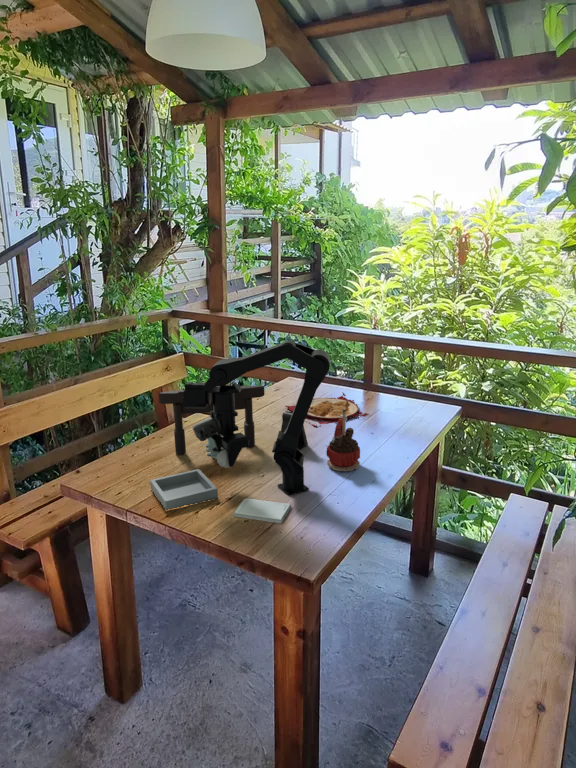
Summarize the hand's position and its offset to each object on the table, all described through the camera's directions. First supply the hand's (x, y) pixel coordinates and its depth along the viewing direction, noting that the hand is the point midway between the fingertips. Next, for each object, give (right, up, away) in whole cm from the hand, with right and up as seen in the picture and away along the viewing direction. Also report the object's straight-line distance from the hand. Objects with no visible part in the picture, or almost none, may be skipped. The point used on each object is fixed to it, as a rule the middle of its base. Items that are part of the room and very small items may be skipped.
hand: (226, 462), depth 150 cm
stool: (-7, 0, +28) cm, 29 cm away
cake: (+33, -3, +14) cm, 36 cm away
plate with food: (+33, +10, +62) cm, 71 cm away
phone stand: (+18, 0, +28) cm, 34 cm away
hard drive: (+10, -11, -11) cm, 19 cm away
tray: (-11, -8, -2) cm, 14 cm away
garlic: (0, -1, 0) cm, 1 cm away
